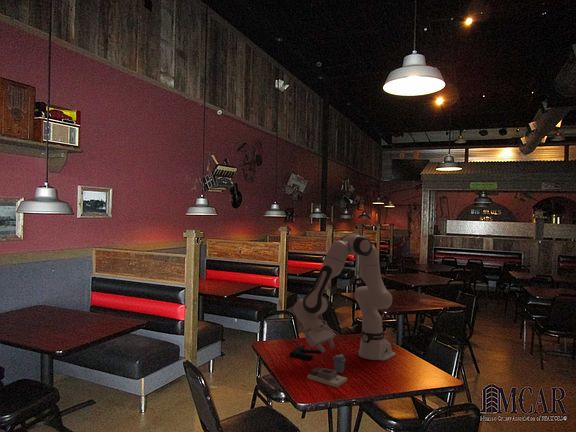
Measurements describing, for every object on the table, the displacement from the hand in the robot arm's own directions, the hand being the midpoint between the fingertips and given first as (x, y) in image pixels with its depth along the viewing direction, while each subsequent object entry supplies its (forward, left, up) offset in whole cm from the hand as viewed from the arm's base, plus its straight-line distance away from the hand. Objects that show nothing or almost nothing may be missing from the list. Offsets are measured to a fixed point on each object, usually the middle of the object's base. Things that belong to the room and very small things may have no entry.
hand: (328, 349), depth 208 cm
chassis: (+11, +11, -10) cm, 18 cm away
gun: (-7, -25, -10) cm, 28 cm away
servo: (-2, +6, -10) cm, 12 cm away
